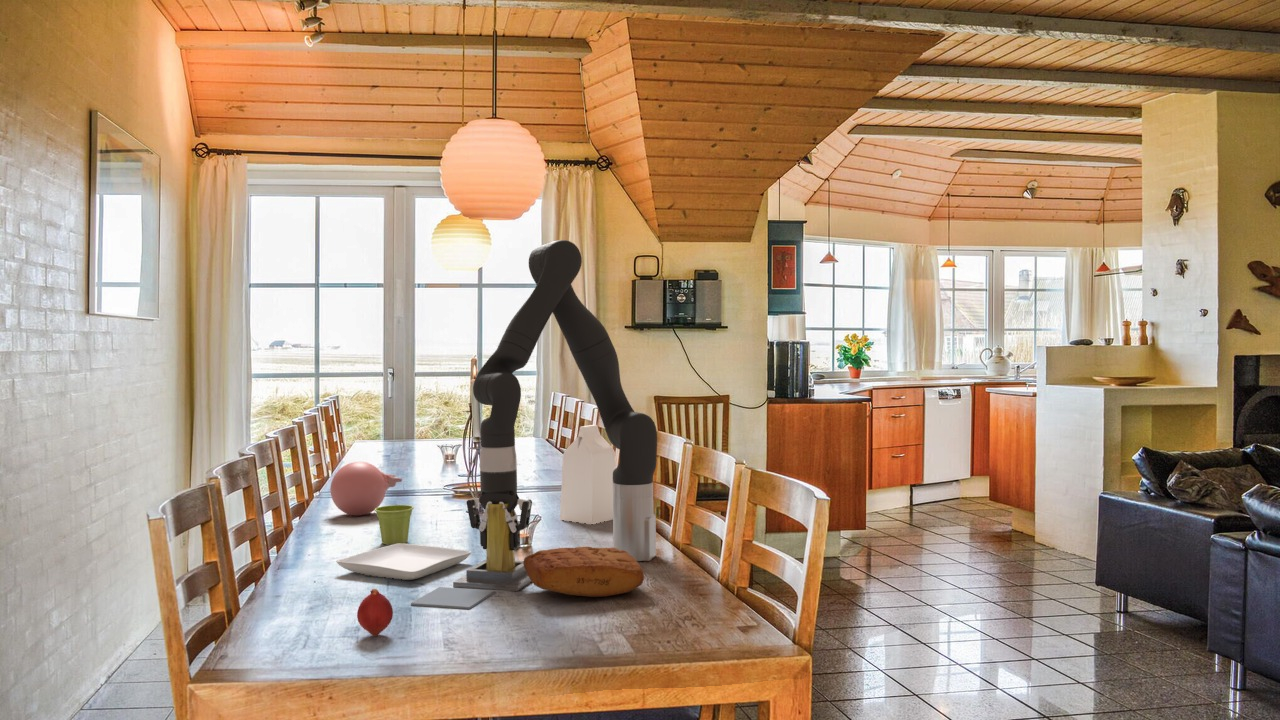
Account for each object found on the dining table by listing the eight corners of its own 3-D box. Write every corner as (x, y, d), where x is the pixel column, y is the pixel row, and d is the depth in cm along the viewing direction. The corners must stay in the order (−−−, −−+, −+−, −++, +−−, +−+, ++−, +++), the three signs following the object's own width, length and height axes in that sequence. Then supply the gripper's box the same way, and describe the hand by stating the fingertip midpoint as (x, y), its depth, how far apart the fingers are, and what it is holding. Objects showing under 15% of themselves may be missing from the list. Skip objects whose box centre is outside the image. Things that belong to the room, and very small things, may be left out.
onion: (361, 630, 163) (361, 584, 163) (395, 629, 163) (395, 583, 163) (354, 641, 157) (353, 593, 157) (389, 640, 157) (389, 592, 157)
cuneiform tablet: (534, 609, 175) (534, 566, 175) (521, 586, 192) (521, 546, 192) (649, 599, 181) (648, 557, 181) (627, 578, 198) (626, 539, 197)
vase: (509, 574, 193) (508, 505, 192) (481, 573, 194) (479, 504, 194) (519, 567, 199) (518, 499, 198) (491, 566, 200) (490, 499, 200)
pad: (495, 592, 187) (495, 590, 187) (469, 609, 175) (469, 607, 175) (439, 588, 190) (439, 586, 190) (410, 605, 178) (410, 603, 178)
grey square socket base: (542, 573, 201) (542, 560, 201) (518, 590, 188) (517, 575, 188) (481, 570, 205) (481, 556, 205) (453, 586, 191) (453, 572, 191)
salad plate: (474, 564, 212) (474, 549, 212) (414, 587, 193) (413, 570, 193) (398, 556, 221) (398, 541, 221) (334, 576, 202) (333, 560, 202)
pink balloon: (405, 516, 269) (404, 462, 269) (331, 521, 262) (330, 466, 262) (400, 507, 284) (399, 456, 283) (329, 512, 277) (329, 460, 277)
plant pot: (367, 545, 232) (366, 509, 232) (390, 537, 240) (390, 503, 240) (398, 548, 228) (398, 512, 228) (421, 540, 237) (421, 505, 237)
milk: (587, 513, 272) (586, 423, 271) (619, 517, 265) (618, 425, 265) (559, 520, 262) (558, 426, 262) (592, 524, 255) (591, 428, 255)
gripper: (537, 466, 198) (539, 546, 198) (473, 465, 201) (475, 544, 202) (524, 471, 190) (526, 554, 191) (458, 470, 194) (460, 552, 194)
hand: (500, 548), depth 196 cm, fingers closed on vase, 5 cm apart
